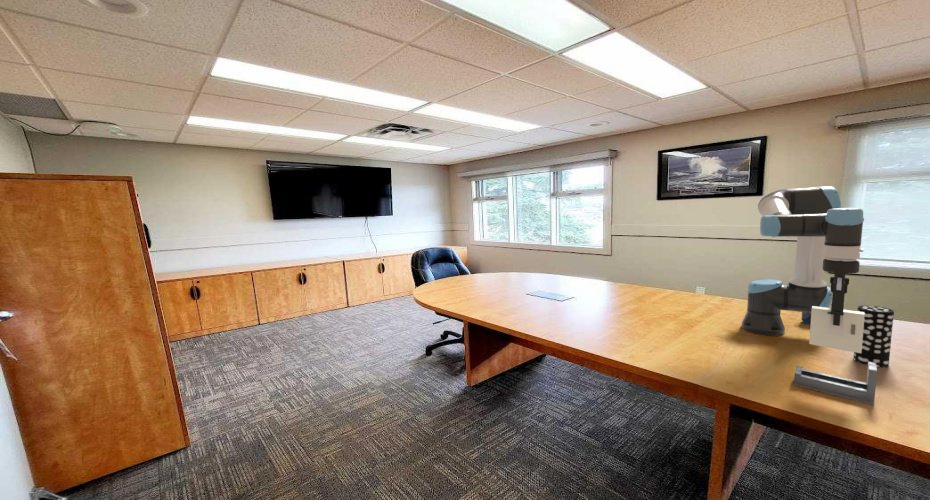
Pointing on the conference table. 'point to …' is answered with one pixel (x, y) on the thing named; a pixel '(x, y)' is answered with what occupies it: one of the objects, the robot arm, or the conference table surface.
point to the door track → (839, 384)
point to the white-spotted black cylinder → (876, 336)
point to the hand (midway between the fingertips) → (835, 332)
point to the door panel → (850, 330)
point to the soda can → (806, 318)
